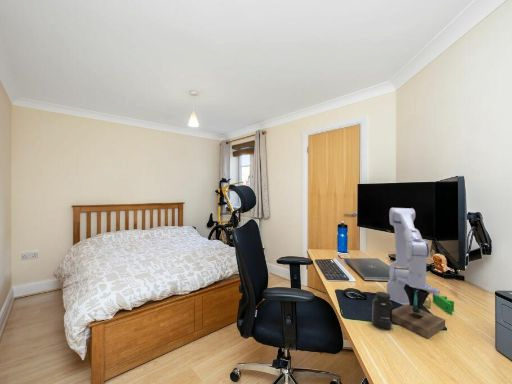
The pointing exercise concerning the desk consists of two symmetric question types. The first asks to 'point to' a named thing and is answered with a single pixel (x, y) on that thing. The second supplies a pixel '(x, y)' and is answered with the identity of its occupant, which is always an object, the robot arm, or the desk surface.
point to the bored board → (417, 321)
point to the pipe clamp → (444, 303)
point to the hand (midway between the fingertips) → (416, 306)
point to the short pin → (427, 303)
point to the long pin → (415, 302)
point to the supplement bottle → (382, 311)
